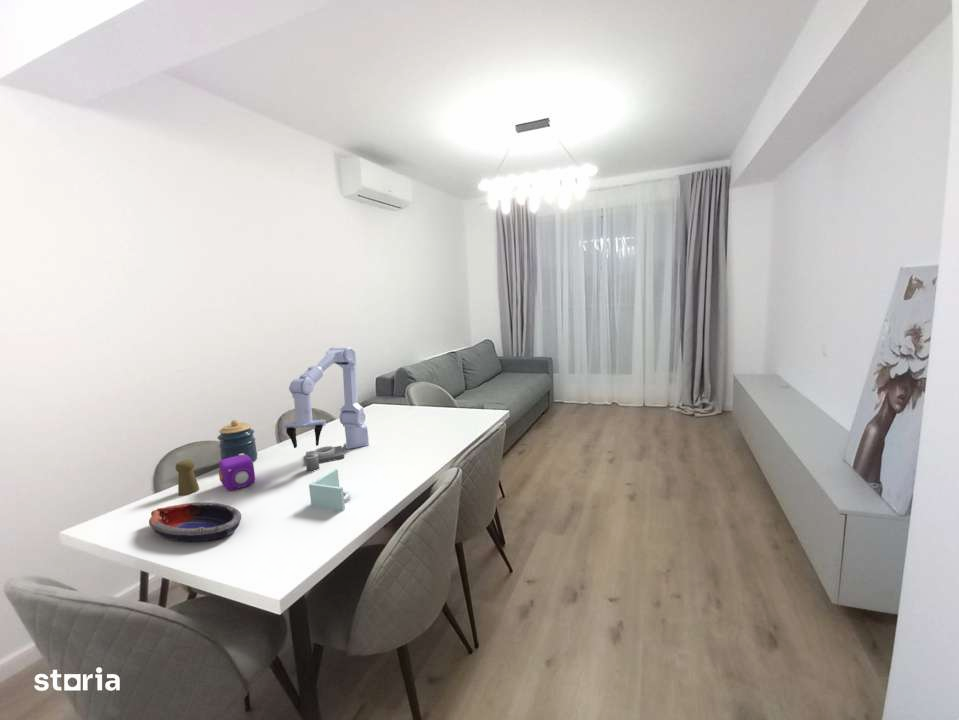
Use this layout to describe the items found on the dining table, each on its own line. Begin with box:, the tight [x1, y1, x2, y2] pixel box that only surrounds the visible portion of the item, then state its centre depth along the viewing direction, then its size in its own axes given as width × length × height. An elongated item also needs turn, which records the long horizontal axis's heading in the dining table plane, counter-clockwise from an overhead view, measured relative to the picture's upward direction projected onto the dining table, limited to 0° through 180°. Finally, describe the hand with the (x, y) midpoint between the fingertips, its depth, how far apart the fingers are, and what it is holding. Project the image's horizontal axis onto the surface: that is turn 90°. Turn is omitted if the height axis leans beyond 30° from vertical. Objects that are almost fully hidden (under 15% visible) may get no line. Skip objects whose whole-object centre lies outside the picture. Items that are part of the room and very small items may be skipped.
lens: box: [304, 452, 320, 472], centre depth 156 cm, size 4×4×6 cm
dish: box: [148, 501, 242, 542], centre depth 117 cm, size 16×31×5 cm, turn 69°
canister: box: [217, 419, 258, 463], centre depth 167 cm, size 13×13×18 cm
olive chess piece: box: [175, 459, 200, 497], centre depth 142 cm, size 6×6×11 cm
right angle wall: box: [308, 468, 352, 512], centre depth 131 cm, size 12×12×8 cm
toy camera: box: [218, 453, 256, 491], centre depth 144 cm, size 11×14×10 cm
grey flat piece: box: [305, 445, 345, 463], centre depth 169 cm, size 14×12×3 cm
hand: (306, 446), depth 154 cm, fingers open, 7 cm apart
